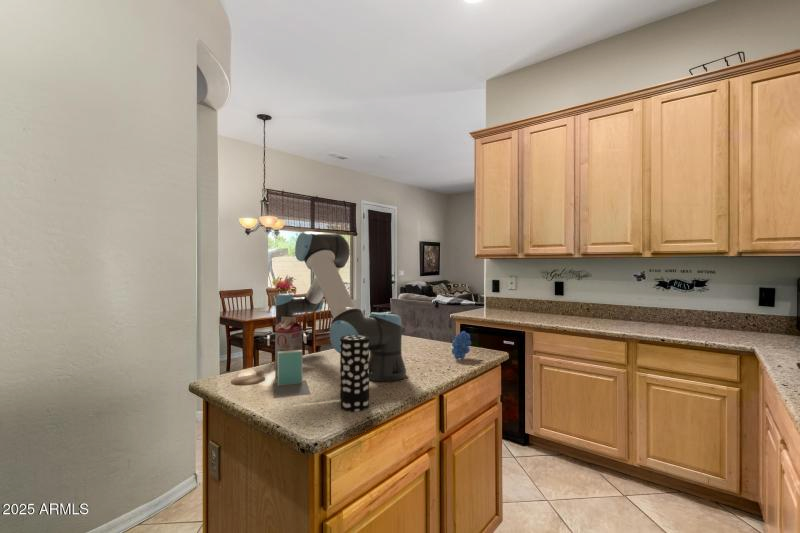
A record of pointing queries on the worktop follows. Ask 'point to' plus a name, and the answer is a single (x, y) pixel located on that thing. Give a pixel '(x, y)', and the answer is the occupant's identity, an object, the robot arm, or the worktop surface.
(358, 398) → the spotted tube
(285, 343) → the juice carton
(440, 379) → the worktop surface
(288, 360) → the tile
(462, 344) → the grapes
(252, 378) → the coaster
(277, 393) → the mat
